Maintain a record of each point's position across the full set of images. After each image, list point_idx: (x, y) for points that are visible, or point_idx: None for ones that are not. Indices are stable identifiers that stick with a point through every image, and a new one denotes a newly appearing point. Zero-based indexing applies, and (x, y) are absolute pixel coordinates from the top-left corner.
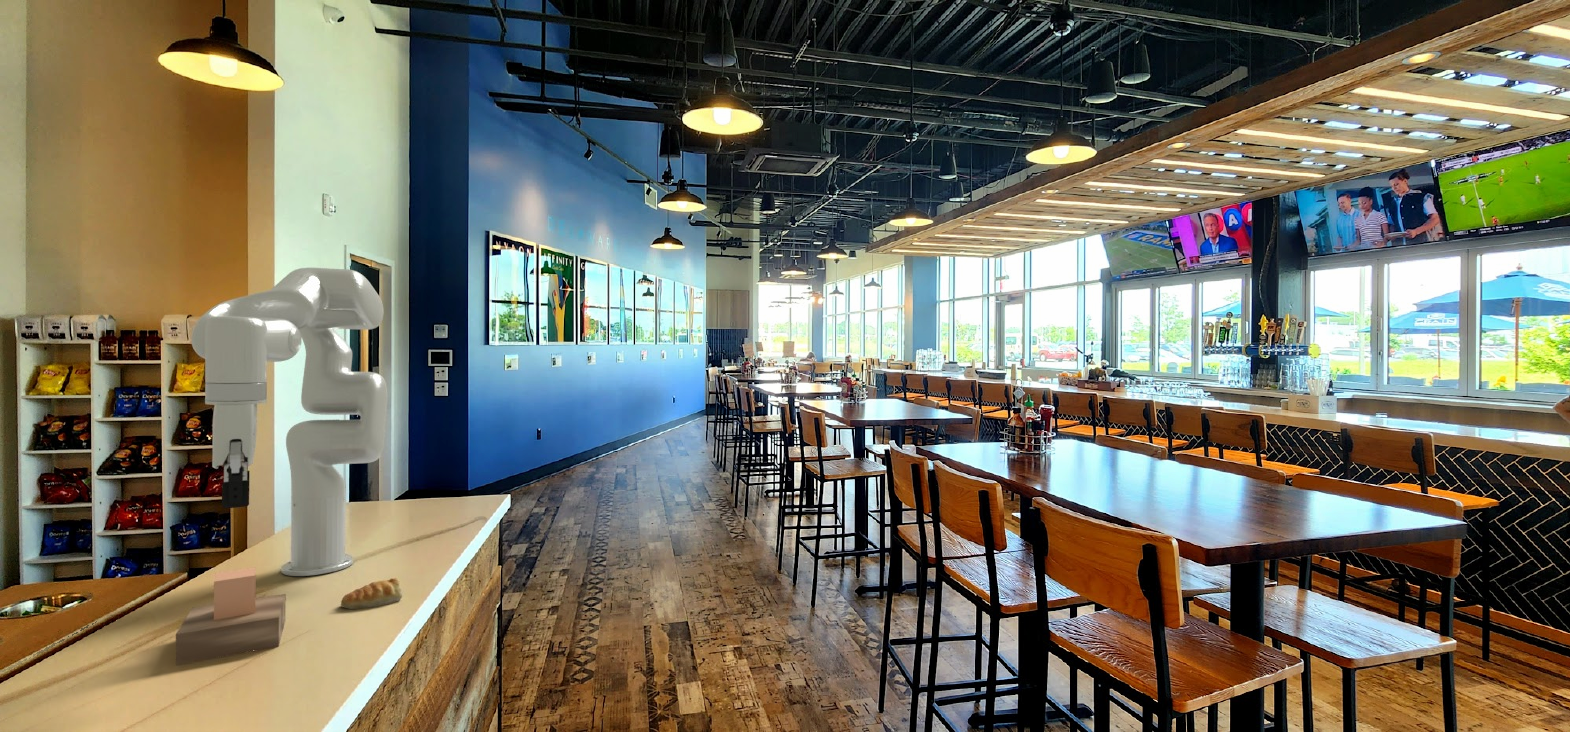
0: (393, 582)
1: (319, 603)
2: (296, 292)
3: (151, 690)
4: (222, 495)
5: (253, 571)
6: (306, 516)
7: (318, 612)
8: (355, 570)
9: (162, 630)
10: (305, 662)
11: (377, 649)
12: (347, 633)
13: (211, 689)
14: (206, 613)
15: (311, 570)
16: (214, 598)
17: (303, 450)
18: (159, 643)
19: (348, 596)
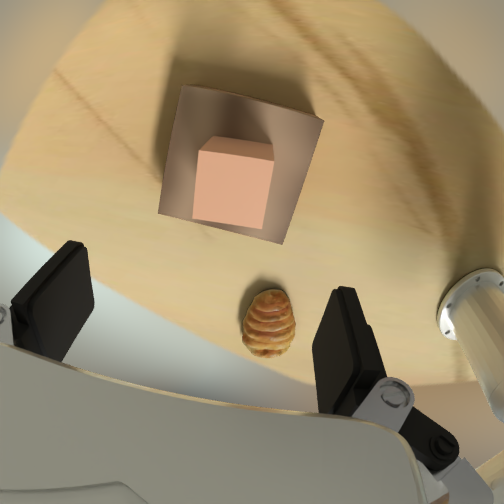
0: (257, 351)
1: (322, 273)
2: None
3: (123, 63)
4: (42, 266)
5: (227, 220)
6: (500, 348)
7: (281, 263)
8: (421, 331)
9: (378, 92)
10: (98, 211)
11: (95, 273)
12: (164, 266)
13: (82, 121)
14: (266, 131)
15: (451, 296)
16: (205, 143)
17: None
18: (316, 76)
19: (265, 303)
